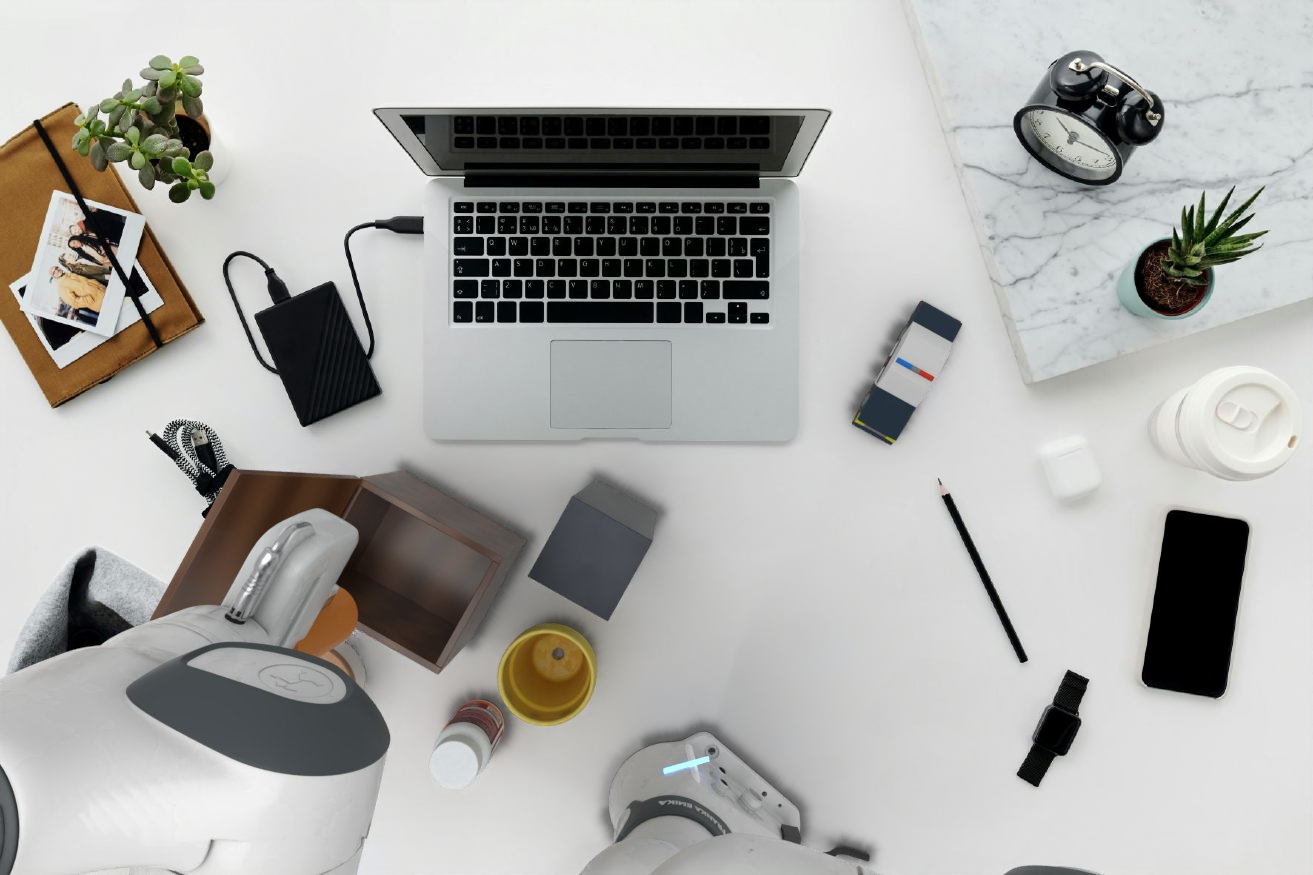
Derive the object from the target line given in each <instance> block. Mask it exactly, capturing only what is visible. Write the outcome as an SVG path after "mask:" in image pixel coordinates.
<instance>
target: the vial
mask: <svg viewBox="0 0 1313 875" xmlns="http://www.w3.org/2000/svg"><path fill="white" fill-rule="evenodd" d="M357 620H358V610H357V606H356V603H355V601H354V599H353V598H352V596H351V595H350V594H349V593H348V592H347V591H346V590H345V589H343V588H341V587H339V590H338V591H337V593H336V595H335V597H334V599H333V600H332V602H331V604H330V605H329V606H328V605H327V606H326V607H325V608H323V609H321V610H320V612H319V614H318V616H317V618H316V619H315V621H314V623H313V625H312V627H311V629H310V630H309V632H308V634H307V635H306V637H305V638H304V639H302V640H300V641H298V642H297V644H296V645H295V647H294V649H293V650H297V651H301V652H304V653H307V654H310V655H313V656H316V657H321V656H322V655H324V654H325V653H327V652H328V651H330V650H331V649H333V648H335V647H336V646H338V645H339V644H341V643H342V642H345V641H346V640H348V639H349V638H350V637H351V636H352V634H353V633H354V631H355V630H356V628H355V627H356V624H357Z"/></svg>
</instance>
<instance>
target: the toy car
mask: <svg viewBox="0 0 1313 875" xmlns="http://www.w3.org/2000/svg"><path fill="white" fill-rule="evenodd" d="M962 326H963V322H962V321H961V320H959V319H957V318H956V317H953V316H952V315H950V314H948V313H946V312H945V311H942V310H941V309H939V308H937V307H935V306H934V305H932V304H929V303H928V302H926V301H924V300H920V301H919V302H918V304H917V305H916V307H915V309H914V310H913V312H912V314H911V315H910V317H909V319H908V321H907V324H906V325H905V326H904V327H903V329H902V330H901V331H900V333H899V335H898V337H897V340H896V343H895V345H894V346H893V348H892V350H891V352H890V354H889V355H888V357H887V359H886V361H885V362H884V364H883V366H882V368H881V369H880V372H879V373H878V375H877V377H876V378H875V380H874V382H873V384H872V386H871V388H870V389H869V390H870V391H868V392H867V394H866V395H865V396H864V398H863V400H862V401H861V404H860V407H859V409H858V411H857V412H856V414H855V416H854V418H853V420H852V422H851V425H853V426H854V427H856V428H858V429H860V430H861V431H863V432H865V433H867V434H869V435H871V436H872V437H874V438H876V439H878V440H880V441H881V442H884V443H885V444H887V445H889V446H892V445H893V444H894V443H895V442H897V440H898V439H899V437H900V436H901V434H902V433H903V431H904V429H905V427H906V426H907V424H908V422H909V421H910V419H911V417H912V415H913V414H914V412H915V411H916V408H917V407H918V406H919V405H920V403H921V402H922V401H923V399H924V398H925V397H926V395H927V394H928V393H929V392H930V390H931V388H932V387H933V385H934V384H935V382H936V380H937V378H938V376H939V374H940V373H941V371H942V369H943V368H944V365H945V363H946V362H947V359H948V357H949V356H950V353H951V350H952V347H953V344H954V341H955V340H956V337H957V336H958V333H959V332H960V330H961V328H962Z"/></svg>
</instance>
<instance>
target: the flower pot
mask: <svg viewBox="0 0 1313 875" xmlns="http://www.w3.org/2000/svg"><path fill="white" fill-rule="evenodd" d="M556 649H561V650H562V651H563V655H562V656H561V657H556V656H555V655H554V653H555V652H554V651H555V650H556ZM597 678H598V662H597V658H596V654H595V652H594V649H593V648H592V645H591V644H590V643H589V641H588V640H587V639H586V638H585V637H584V636H583V635H582V634H581V633H580V632H578V631H577V630H575V629H574V628H572V627H570V626H568V625H565V624H561V623H555V622H547V623H540V624H535V625H533V626H531V627H529V628H526V630H524V631H522V632H521V633H519V635H518V636H516V637H515V638H514V639H513V640H512V641H511V643H510V644H509V645H508V647H507V648H506V649H505V650H504V652H503V654H502V656H501V659H500V660H499V665H498V668H497V678H496V679H497V681H496V682H497V688H498V691H499V695H500V697H501V699H502V701H503V703H504V705H505V706H506V708H507V709H508V710H509V711H510V712H511V713H512V714H513V715H514V716H515V717H517V718H518V719H519V720H521V721H523V722H524V723H527V724H530V725H533V726H537V727H554V726H558V725H562V724H564V723H567V722H569V721H571V720H572V719H574V718H575V717H577V716H578V715H579V714H580V713H581V712H582V711H583V710H584V709H585V708H586V706H587V705H588V704H589V702H590V700H591V698H592V696H593V694H594V690H595V689H596V684H597Z"/></svg>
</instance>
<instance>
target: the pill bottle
mask: <svg viewBox="0 0 1313 875" xmlns="http://www.w3.org/2000/svg"><path fill="white" fill-rule="evenodd" d="M504 719H505V718H504V716H503V714H502V712H501V710H500V709H499V708H498V707H497V706H496V705H495V704H494V703H492V702H490V701H488V700H485V699H471V700H469V701H467V702H465V703H463V704H462V705H461V706H459V708H458V709H456V711H455V712H454V714H452V716H451V717H450V719H449V720H448V722H446V724H445V726H444V727H443V728H442V730H441V731H440V733H439V734H438V736H437V737H436V740H435V742H434V745H433V751H432V753H431V755H430V759H429V771H430V772H429V773H430V776H431V777H432V778H433V780H434V782H436V783H437V785H439V786H440V787H442V788H444V789H447V790H452V791H457V790H461V789H465V788H466V787H468V786H469V785H470V784H472V783H473V781H474V780H475V779H476V777H478V776H479V775H480V774H482V772H483V771H484V770H486V768H487V766H488V764H489V763H490V761H491V759H492V757H493V755H494V754H495V752H496V749H497V748H498V746H499V744H500V742H501V740H502V737H503V735H504V732H505V720H504Z"/></svg>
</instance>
